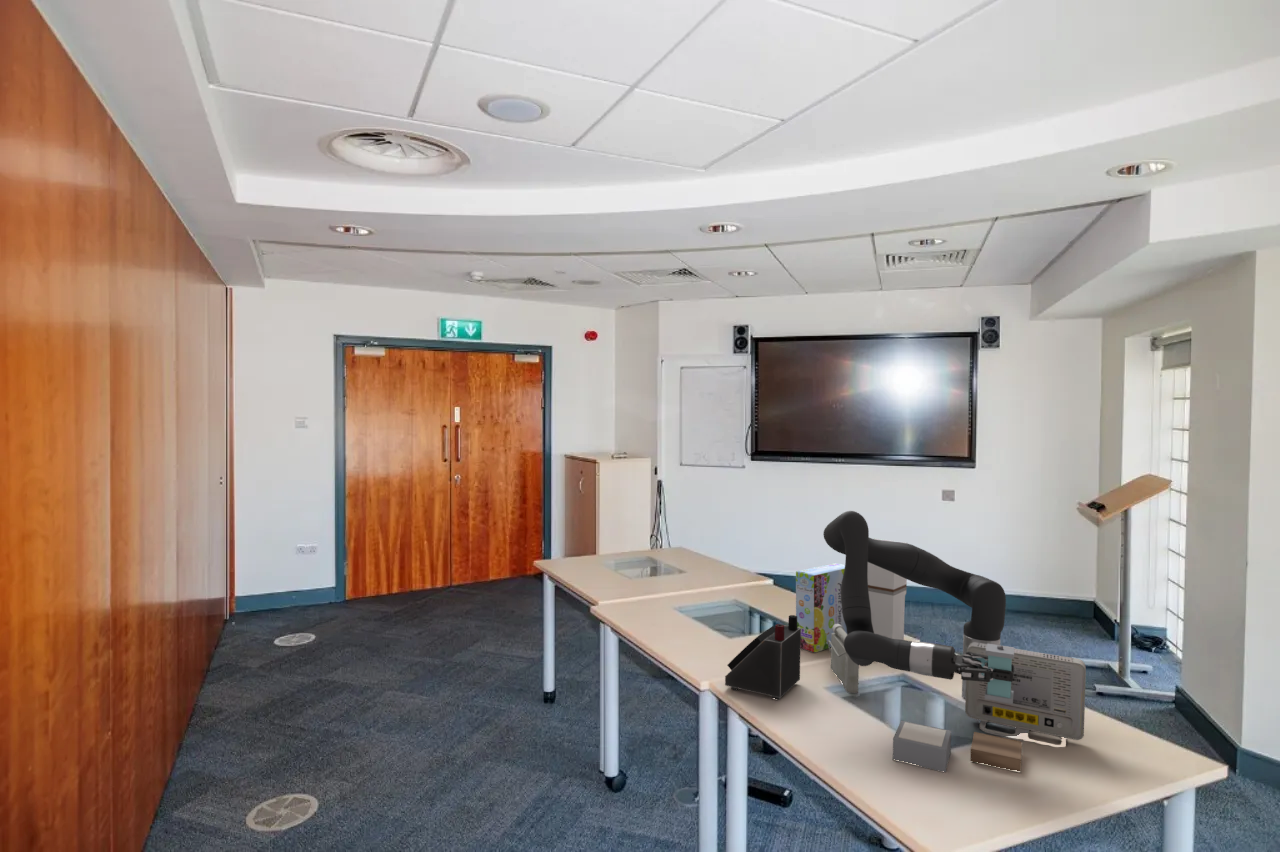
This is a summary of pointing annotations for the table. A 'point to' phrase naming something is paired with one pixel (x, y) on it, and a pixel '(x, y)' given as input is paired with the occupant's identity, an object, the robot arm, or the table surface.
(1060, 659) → the network device
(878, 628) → the tall open-top box
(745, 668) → the voltmeter
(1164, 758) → the table surface
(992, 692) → the housing
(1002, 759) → the walnut block
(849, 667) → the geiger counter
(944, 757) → the grey plinth
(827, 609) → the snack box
